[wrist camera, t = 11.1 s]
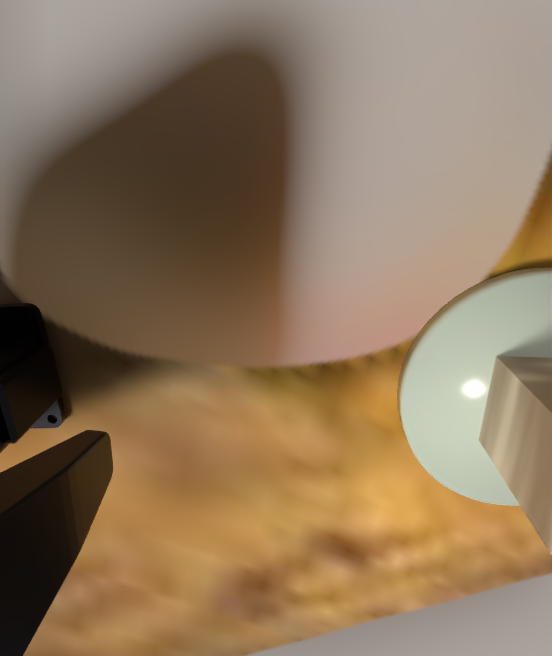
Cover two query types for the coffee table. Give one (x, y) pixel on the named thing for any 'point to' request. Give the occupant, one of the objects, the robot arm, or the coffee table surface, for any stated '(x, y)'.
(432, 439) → the saucer
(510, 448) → the birch block
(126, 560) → the coffee table surface
